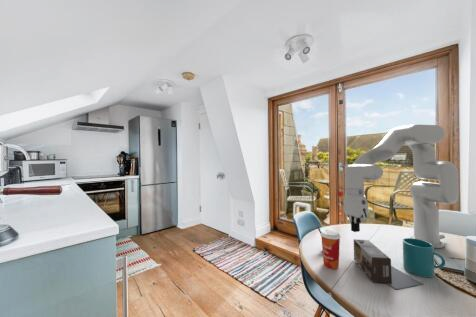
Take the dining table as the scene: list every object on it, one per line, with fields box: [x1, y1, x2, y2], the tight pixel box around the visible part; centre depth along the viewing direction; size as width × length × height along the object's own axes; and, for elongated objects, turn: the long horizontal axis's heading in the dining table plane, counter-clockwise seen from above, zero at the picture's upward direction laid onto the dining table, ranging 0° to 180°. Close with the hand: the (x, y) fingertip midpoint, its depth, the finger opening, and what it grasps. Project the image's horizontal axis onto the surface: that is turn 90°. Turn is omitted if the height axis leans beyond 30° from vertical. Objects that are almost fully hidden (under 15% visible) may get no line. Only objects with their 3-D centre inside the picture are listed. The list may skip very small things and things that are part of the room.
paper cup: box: [320, 229, 341, 270], centre depth 82 cm, size 8×8×14 cm
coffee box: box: [353, 238, 392, 284], centre depth 78 cm, size 9×6×16 cm
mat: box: [355, 262, 424, 290], centre depth 76 cm, size 12×17×1 cm
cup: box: [402, 237, 446, 278], centre depth 76 cm, size 9×12×11 cm
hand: (355, 231), depth 91 cm, fingers closed
